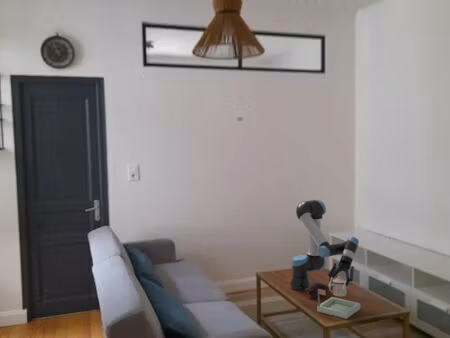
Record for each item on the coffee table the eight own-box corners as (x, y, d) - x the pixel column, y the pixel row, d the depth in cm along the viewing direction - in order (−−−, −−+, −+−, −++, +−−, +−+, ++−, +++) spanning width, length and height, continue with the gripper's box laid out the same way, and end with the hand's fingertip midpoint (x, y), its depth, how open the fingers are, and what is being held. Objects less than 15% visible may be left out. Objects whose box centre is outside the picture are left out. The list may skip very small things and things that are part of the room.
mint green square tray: (317, 311, 282) (316, 289, 281) (332, 302, 297) (331, 281, 296) (346, 318, 269) (345, 295, 268) (360, 308, 284) (359, 286, 283)
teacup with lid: (342, 291, 288) (342, 273, 288) (349, 295, 280) (349, 277, 279) (325, 293, 285) (325, 275, 285) (332, 298, 277) (332, 280, 276)
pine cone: (326, 293, 314) (325, 279, 314) (332, 297, 305) (331, 283, 304) (302, 295, 311) (302, 281, 310) (308, 300, 301) (307, 286, 301)
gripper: (364, 263, 285) (354, 294, 274) (334, 258, 300) (323, 288, 289) (360, 257, 281) (350, 288, 270) (330, 252, 295) (319, 282, 284)
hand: (336, 288), depth 279 cm, fingers closed on teacup with lid, 9 cm apart
